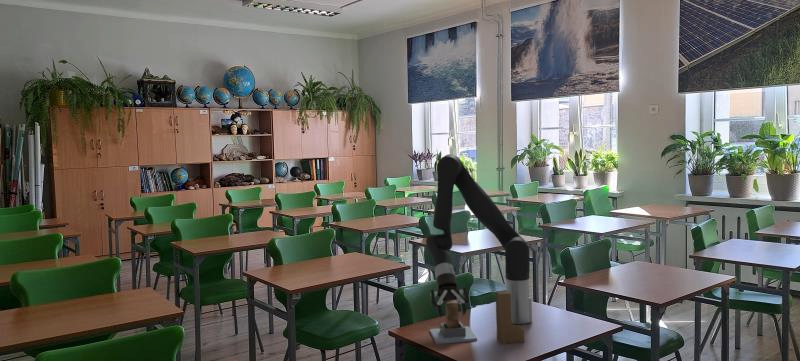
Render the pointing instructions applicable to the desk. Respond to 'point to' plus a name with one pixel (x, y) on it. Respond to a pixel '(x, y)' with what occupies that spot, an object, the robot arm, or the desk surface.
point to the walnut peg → (451, 314)
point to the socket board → (452, 334)
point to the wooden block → (506, 320)
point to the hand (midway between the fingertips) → (452, 315)
